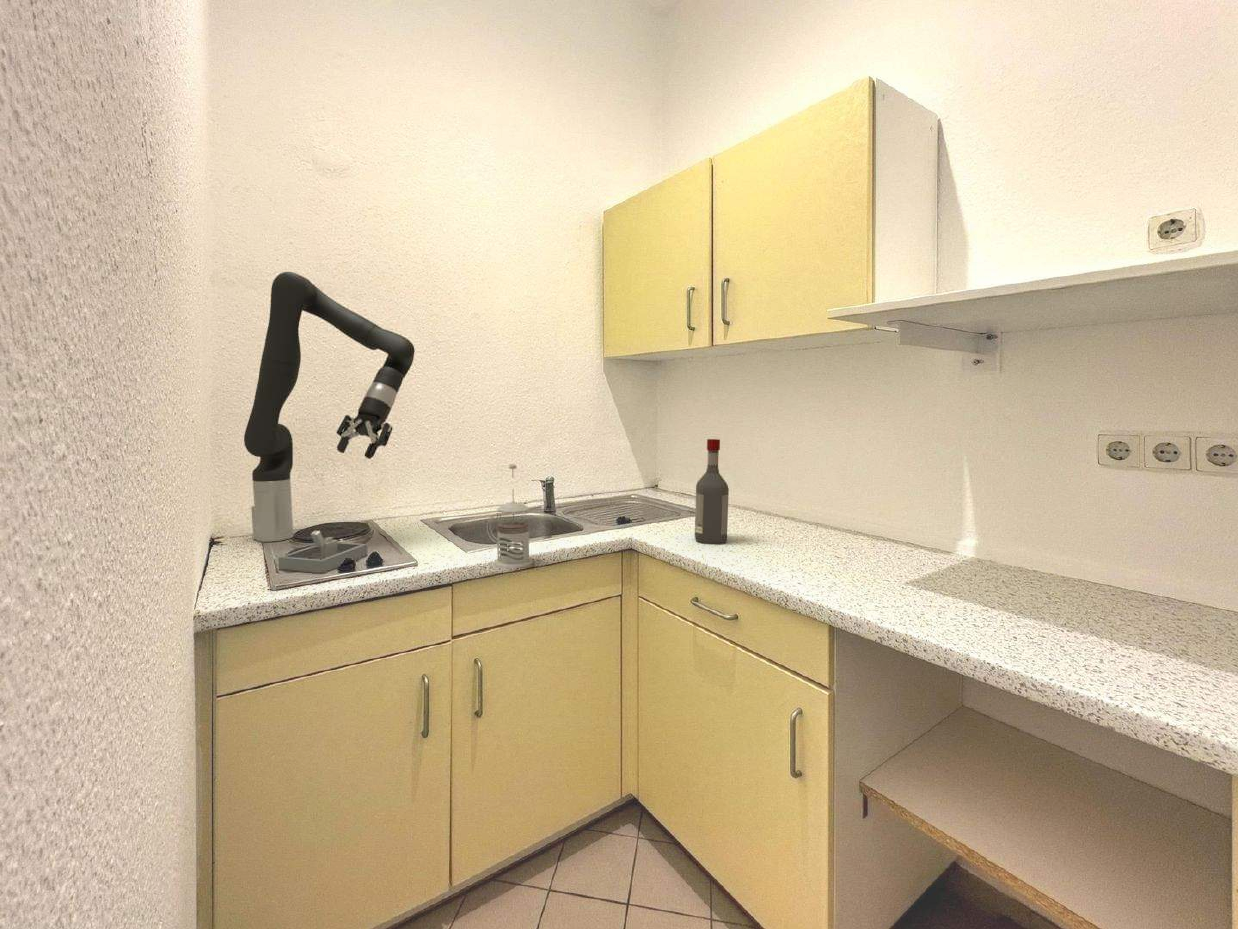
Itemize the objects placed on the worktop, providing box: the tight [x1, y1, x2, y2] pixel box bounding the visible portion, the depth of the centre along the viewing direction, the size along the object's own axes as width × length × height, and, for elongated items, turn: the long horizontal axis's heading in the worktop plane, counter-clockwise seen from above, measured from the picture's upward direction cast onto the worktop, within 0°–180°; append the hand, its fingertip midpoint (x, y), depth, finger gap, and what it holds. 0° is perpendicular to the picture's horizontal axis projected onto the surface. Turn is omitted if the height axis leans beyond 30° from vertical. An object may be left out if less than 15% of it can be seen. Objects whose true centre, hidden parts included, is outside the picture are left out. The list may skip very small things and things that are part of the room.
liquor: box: [694, 438, 730, 545], centre depth 165 cm, size 9×9×30 cm
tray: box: [277, 541, 368, 575], centre depth 140 cm, size 12×16×3 cm
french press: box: [486, 463, 534, 569], centre depth 141 cm, size 10×12×25 cm
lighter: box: [310, 530, 338, 560], centre depth 139 cm, size 7×2×8 cm, turn 168°
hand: (353, 454), depth 151 cm, fingers open, 8 cm apart
